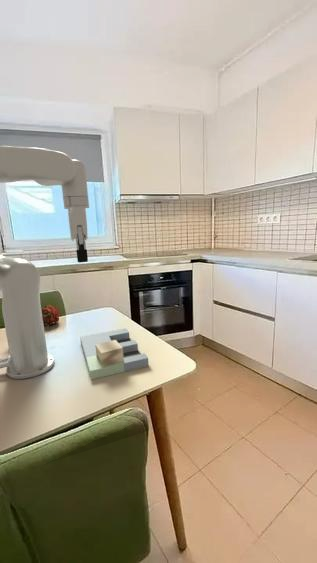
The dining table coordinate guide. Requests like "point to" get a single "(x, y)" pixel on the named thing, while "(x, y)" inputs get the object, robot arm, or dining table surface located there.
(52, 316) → the dragon fruit
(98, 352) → the block
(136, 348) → the board
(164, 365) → the dining table surface
